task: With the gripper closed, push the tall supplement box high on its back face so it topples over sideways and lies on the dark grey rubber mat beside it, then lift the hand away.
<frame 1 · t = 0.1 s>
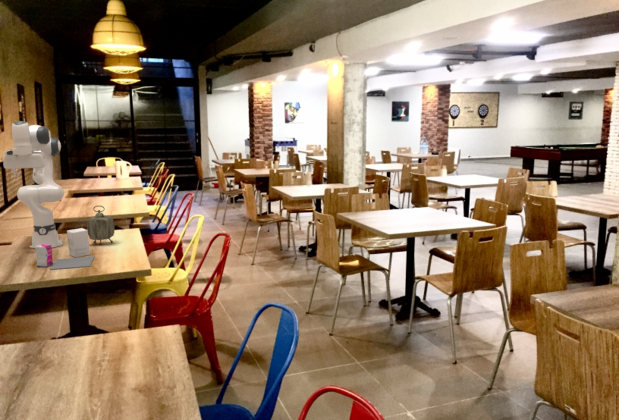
hand: (26, 176, 285), 48 cm above the table, tool pointing down, fingers open, 8 cm apart
supplement box: (45, 266, 282), on the table
supplement box 2: (79, 255, 303), on the table
tabletop clock: (101, 244, 327), on the table
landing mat: (73, 263, 286), on the table
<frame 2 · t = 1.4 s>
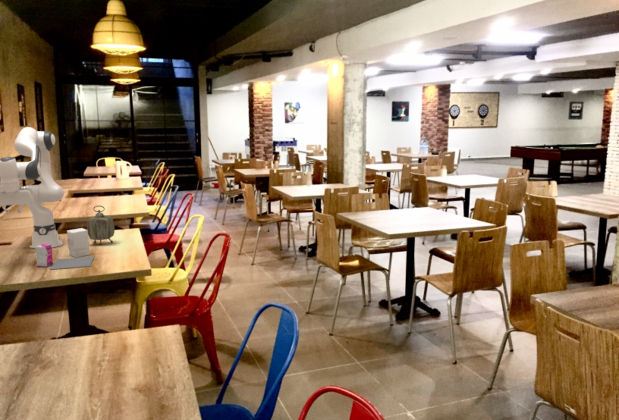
hand: (13, 213, 278), 29 cm above the table, tool pointing down, fingers open, 5 cm apart
nothing on the table moved.
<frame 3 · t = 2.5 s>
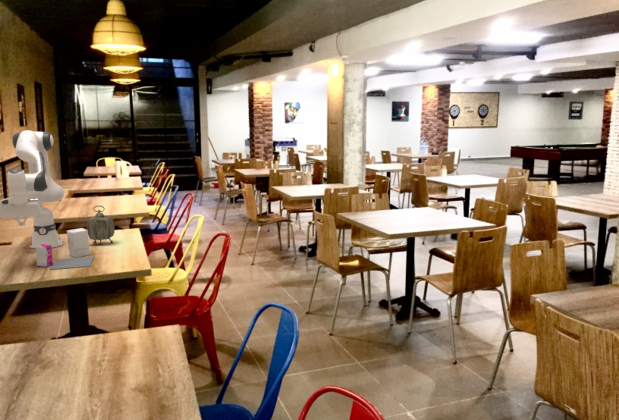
hand: (22, 225, 275), 23 cm above the table, tool pointing down, fingers closed
nothing on the table moved.
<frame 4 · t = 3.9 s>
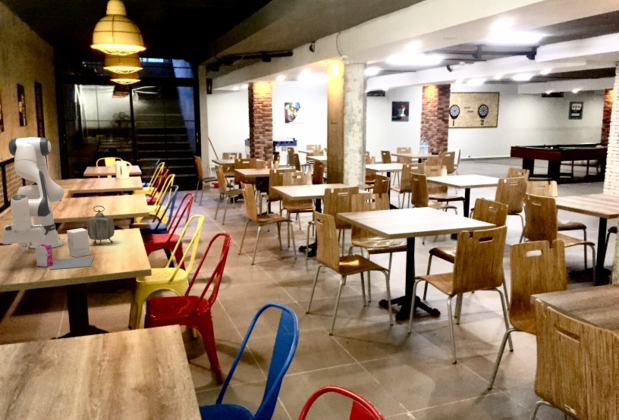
hand: (25, 250, 278), 9 cm above the table, tool pointing down, fingers closed
nothing on the table moved.
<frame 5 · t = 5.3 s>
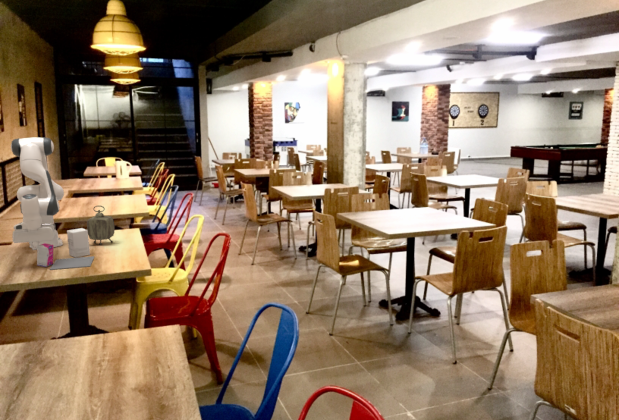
hand: (35, 249, 278), 9 cm above the table, tool pointing down, fingers closed
supplement box: (45, 265, 282), on the table, touching gripper
everything else where it was.
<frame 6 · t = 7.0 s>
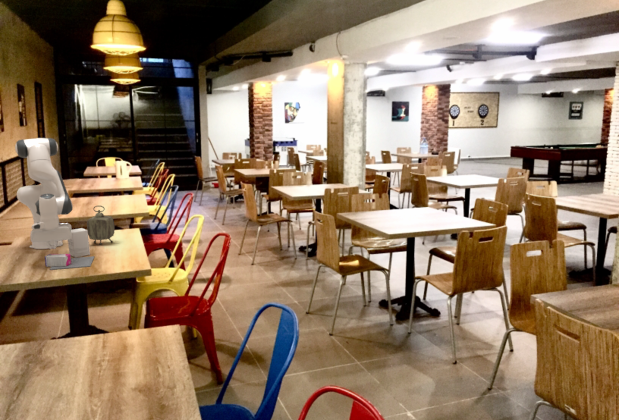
hand: (52, 248, 281), 9 cm above the table, tool pointing down, fingers closed
supplement box: (47, 260, 281), point 3 cm above the table, touching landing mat
everything else where it was.
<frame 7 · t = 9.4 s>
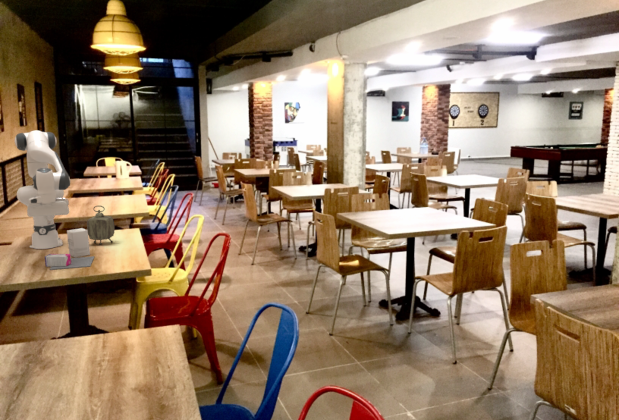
hand: (49, 223, 279), 23 cm above the table, tool pointing down, fingers closed
nothing on the table moved.
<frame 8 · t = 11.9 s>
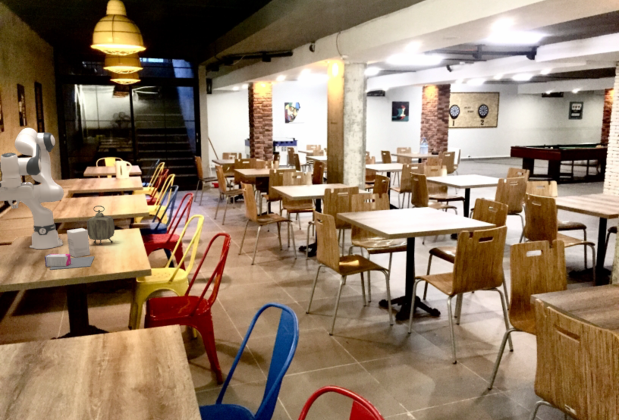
hand: (15, 208, 282), 31 cm above the table, tool pointing down, fingers closed
nothing on the table moved.
at the end: supplement box tilted 89°; supplement box touching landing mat; supplement box inside the target area (6.4 cm from its centre), point 3.2 cm above the table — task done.
